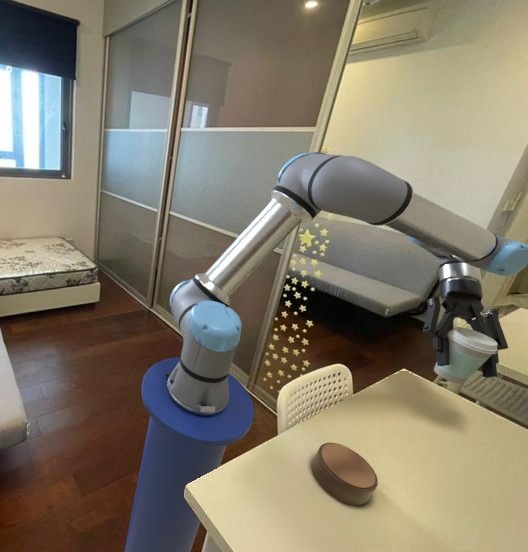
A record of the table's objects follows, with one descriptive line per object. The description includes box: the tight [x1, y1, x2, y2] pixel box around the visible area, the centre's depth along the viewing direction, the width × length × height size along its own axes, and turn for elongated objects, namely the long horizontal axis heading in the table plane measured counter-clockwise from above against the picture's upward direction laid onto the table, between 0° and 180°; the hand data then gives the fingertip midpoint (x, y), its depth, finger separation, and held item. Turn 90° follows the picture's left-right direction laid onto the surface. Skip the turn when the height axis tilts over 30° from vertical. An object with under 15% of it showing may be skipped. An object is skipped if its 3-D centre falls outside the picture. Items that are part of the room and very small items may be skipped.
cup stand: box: [311, 442, 379, 506], centre depth 63 cm, size 10×10×4 cm
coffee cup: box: [433, 326, 498, 385], centre depth 77 cm, size 8×8×12 cm
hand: (466, 370), depth 75 cm, fingers closed on coffee cup, 8 cm apart
